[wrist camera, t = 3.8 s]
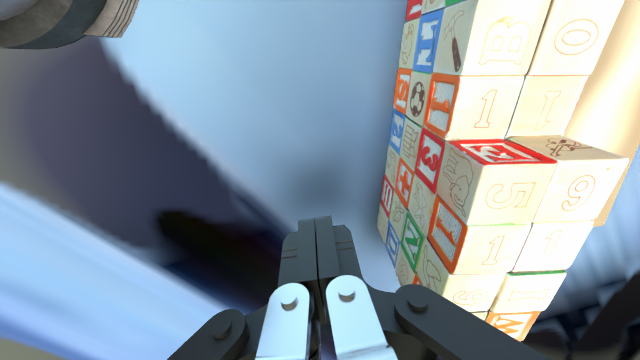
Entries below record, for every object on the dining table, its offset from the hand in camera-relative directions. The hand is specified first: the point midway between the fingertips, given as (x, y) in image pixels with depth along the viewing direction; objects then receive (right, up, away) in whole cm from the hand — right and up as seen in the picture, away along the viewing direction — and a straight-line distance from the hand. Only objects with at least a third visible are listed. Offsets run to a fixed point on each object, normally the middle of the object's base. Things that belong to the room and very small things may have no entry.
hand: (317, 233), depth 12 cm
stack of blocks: (+9, +7, +10) cm, 15 cm away
